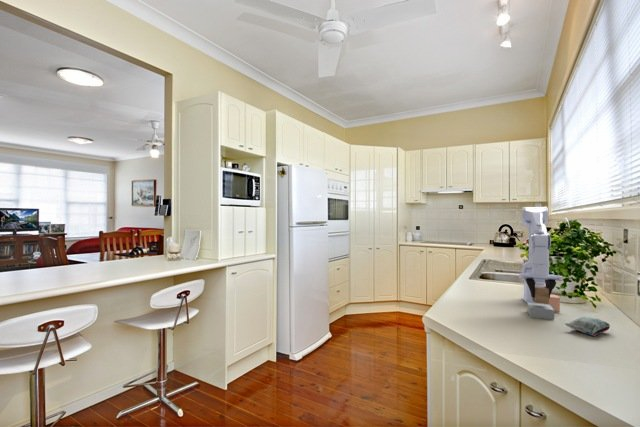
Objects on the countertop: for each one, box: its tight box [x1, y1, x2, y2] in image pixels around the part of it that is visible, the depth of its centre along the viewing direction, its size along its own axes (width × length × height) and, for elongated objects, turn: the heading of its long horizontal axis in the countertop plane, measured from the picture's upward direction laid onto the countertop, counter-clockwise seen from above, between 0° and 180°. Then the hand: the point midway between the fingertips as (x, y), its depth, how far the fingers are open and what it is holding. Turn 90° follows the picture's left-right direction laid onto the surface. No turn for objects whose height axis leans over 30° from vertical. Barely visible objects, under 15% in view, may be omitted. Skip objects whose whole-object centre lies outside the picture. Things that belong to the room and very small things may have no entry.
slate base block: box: [526, 303, 555, 320], centre depth 131 cm, size 8×8×4 cm
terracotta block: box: [546, 294, 561, 313], centre depth 138 cm, size 4×4×6 cm
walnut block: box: [532, 285, 549, 304], centre depth 131 cm, size 4×4×6 cm
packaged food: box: [564, 316, 611, 337], centre depth 113 cm, size 9×12×5 cm
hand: (540, 297), depth 131 cm, fingers closed on walnut block, 4 cm apart
